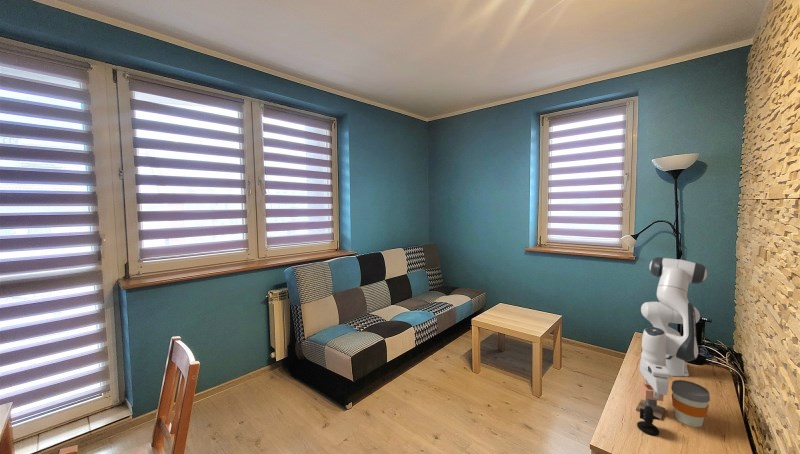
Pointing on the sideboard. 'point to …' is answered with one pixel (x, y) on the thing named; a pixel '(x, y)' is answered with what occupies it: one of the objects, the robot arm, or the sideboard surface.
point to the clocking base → (656, 413)
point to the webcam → (647, 421)
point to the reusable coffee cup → (690, 402)
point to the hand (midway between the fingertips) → (651, 392)
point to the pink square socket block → (649, 392)
